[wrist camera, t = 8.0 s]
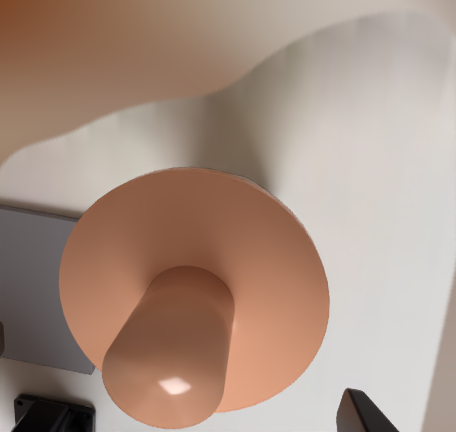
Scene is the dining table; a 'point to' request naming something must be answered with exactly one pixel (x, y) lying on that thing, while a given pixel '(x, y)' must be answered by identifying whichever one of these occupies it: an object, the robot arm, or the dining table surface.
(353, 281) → the dining table surface
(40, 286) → the mat
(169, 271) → the lid
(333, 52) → the dining table surface
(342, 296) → the dining table surface
